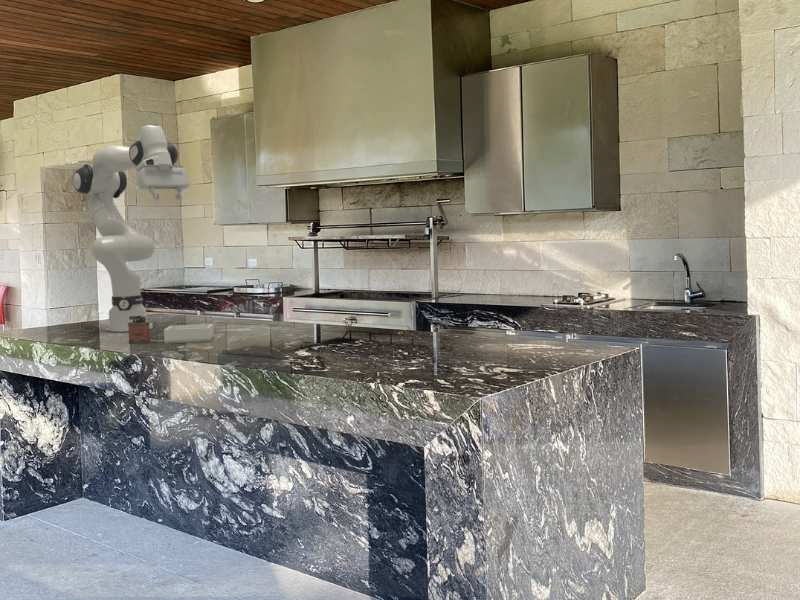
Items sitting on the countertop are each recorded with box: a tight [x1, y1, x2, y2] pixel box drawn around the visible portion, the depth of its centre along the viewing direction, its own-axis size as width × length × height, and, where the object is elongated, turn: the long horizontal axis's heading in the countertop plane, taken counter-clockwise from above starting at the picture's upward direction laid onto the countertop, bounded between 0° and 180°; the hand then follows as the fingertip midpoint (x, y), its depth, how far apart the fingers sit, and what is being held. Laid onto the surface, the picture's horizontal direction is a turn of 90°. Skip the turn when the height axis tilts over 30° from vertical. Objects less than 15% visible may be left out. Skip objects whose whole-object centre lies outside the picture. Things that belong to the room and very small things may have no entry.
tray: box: [163, 323, 215, 345], centre depth 312 cm, size 12×16×5 cm
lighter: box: [128, 315, 152, 344], centre depth 311 cm, size 8×3×10 cm, turn 84°
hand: (168, 199), depth 319 cm, fingers open, 8 cm apart
